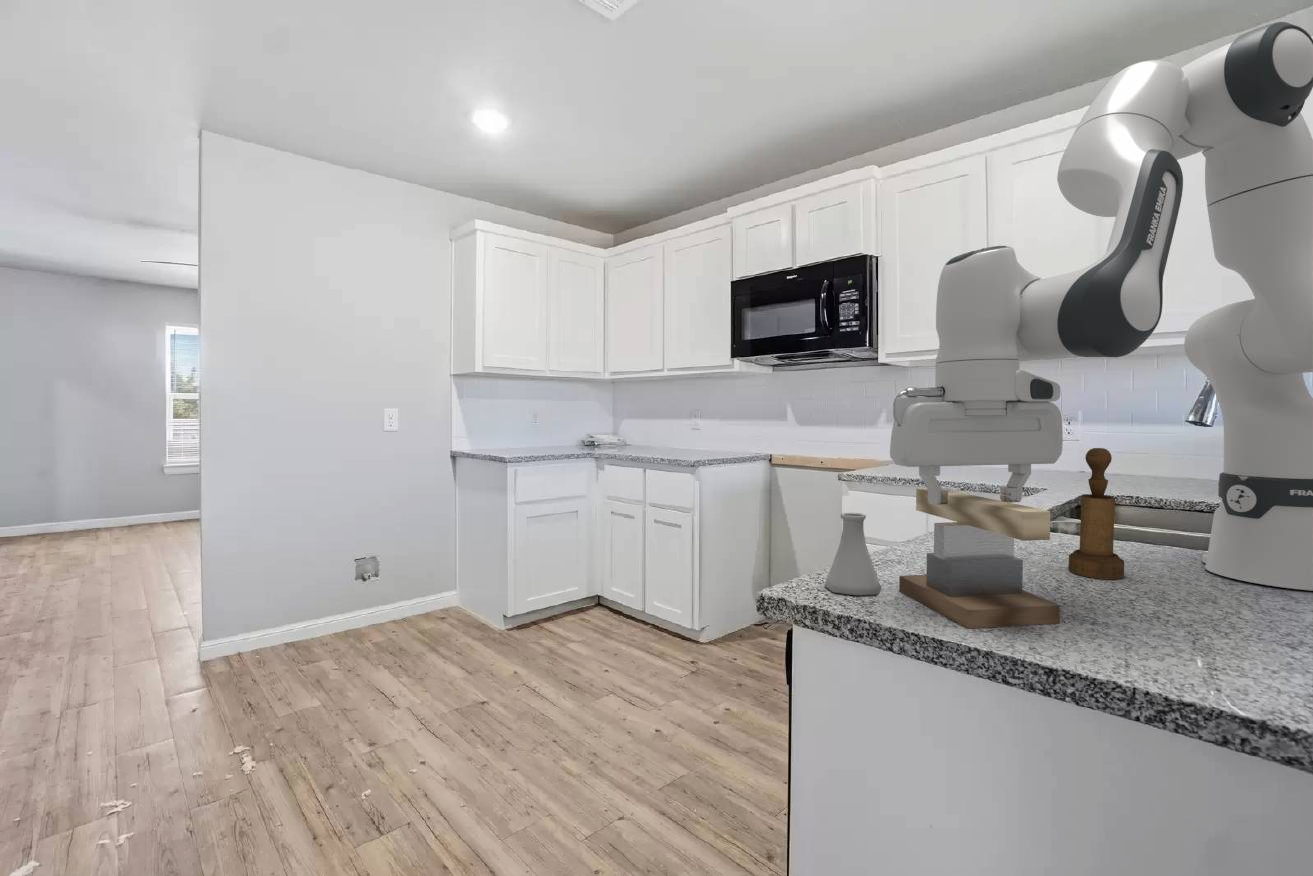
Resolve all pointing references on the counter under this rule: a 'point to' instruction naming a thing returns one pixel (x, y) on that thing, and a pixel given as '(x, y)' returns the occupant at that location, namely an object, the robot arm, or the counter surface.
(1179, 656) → the counter surface
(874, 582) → the flask
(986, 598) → the walnut base
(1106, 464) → the brown tall knobbed post
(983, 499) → the maple bar
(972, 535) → the grey stepped block
